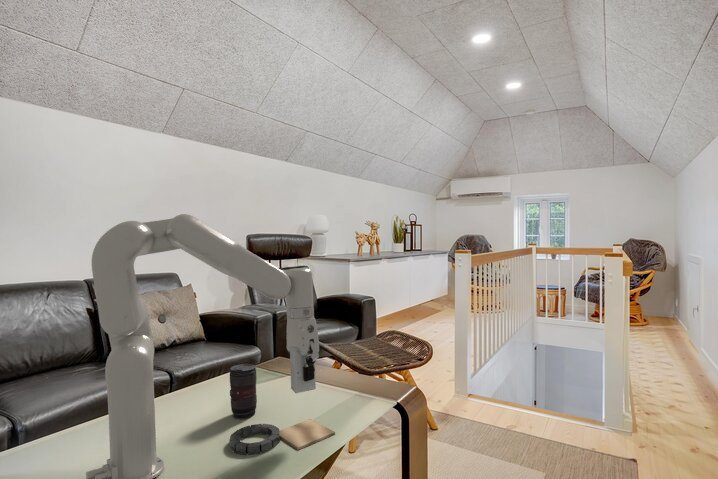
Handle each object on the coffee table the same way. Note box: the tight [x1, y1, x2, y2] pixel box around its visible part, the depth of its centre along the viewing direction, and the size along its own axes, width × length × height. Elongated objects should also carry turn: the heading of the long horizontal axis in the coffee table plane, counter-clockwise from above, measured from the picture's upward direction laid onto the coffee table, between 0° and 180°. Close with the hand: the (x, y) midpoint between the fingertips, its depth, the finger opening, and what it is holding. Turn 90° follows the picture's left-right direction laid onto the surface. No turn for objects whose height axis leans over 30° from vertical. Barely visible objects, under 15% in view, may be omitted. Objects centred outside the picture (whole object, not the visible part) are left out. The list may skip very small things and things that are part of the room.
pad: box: [279, 418, 336, 451], centre depth 114 cm, size 12×12×1 cm
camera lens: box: [229, 363, 258, 420], centre depth 128 cm, size 8×8×15 cm
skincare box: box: [289, 346, 317, 394], centre depth 114 cm, size 6×4×12 cm
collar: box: [228, 423, 281, 456], centre depth 110 cm, size 13×13×2 cm
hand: (303, 377), depth 114 cm, fingers closed on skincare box, 5 cm apart
